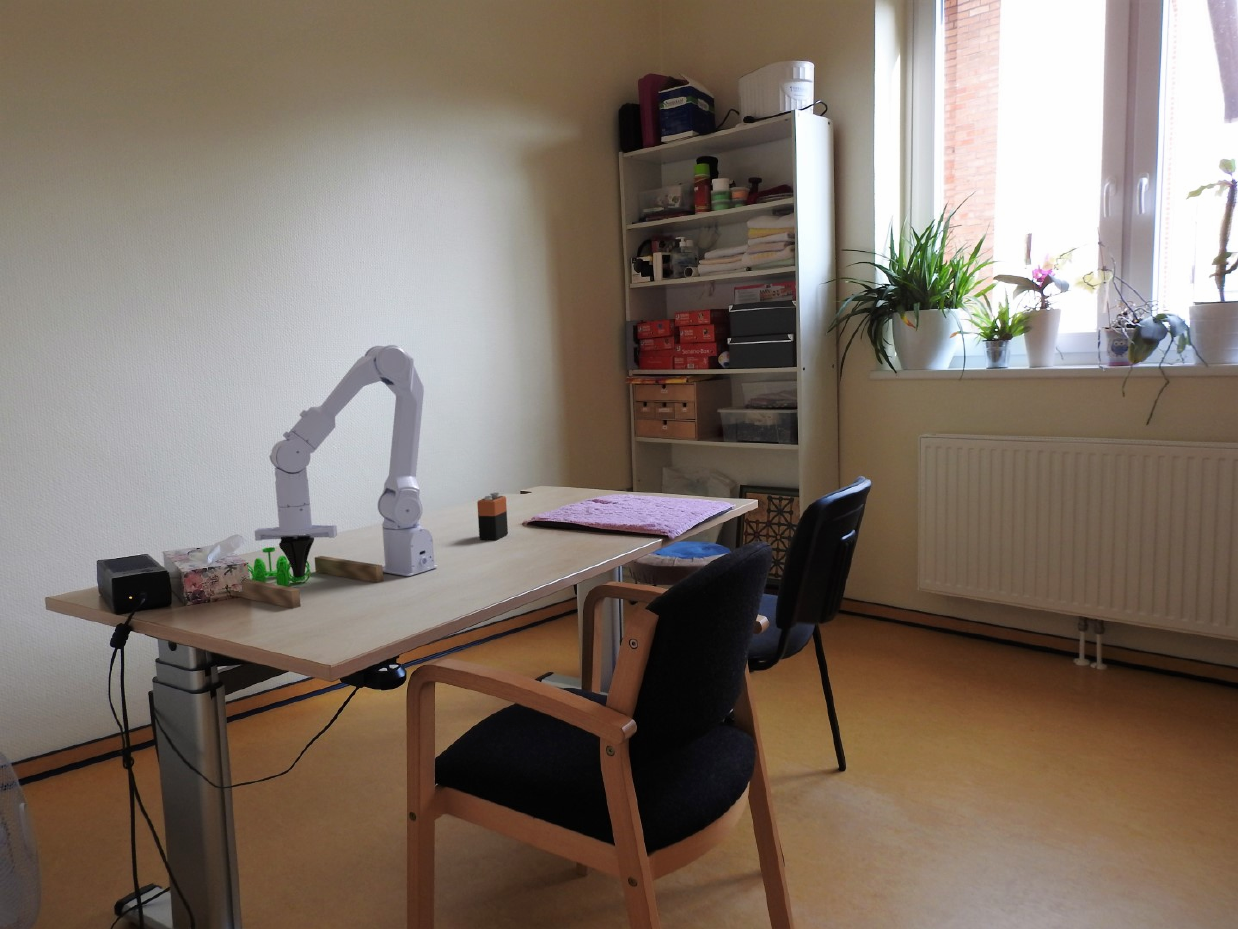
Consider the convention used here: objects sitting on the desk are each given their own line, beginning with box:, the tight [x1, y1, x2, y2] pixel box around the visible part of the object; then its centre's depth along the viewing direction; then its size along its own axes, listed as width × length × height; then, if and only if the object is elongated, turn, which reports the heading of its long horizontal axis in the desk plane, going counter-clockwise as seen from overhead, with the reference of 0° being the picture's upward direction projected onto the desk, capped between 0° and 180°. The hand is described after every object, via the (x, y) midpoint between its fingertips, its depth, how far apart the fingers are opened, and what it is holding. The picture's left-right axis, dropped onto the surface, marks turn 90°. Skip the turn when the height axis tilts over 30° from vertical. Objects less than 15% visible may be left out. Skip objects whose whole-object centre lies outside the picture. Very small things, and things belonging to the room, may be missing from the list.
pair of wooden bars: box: [230, 555, 384, 609], centre depth 167 cm, size 18×20×3 cm
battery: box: [476, 492, 509, 542], centre depth 205 cm, size 4×7×10 cm, turn 162°
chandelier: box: [246, 547, 311, 587], centre depth 171 cm, size 15×15×7 cm
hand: (299, 576), depth 168 cm, fingers closed
